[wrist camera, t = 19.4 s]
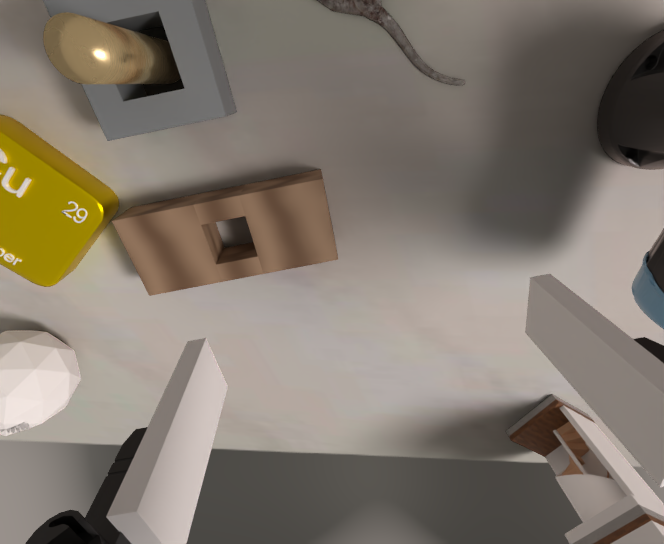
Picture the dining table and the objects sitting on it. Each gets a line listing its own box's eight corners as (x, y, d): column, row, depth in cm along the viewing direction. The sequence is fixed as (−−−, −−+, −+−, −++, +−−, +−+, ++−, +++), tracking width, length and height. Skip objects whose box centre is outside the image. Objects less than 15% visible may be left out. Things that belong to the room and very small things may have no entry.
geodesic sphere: (110, 359, 48) (-29, 411, 36) (99, 425, 54) (-25, 488, 42) (57, 299, 53) (-79, 328, 42) (52, 365, 59) (-70, 407, 47)
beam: (320, 169, 44) (322, 178, 39) (335, 243, 48) (338, 259, 44) (131, 207, 44) (111, 221, 40) (163, 276, 49) (149, 295, 45)
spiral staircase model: (552, 393, 65) (775, 679, 34) (587, 414, 68) (822, 691, 37) (505, 431, 69) (667, 715, 38) (541, 448, 72) (718, 724, 41)
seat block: (198, -22, 34) (178, -42, 29) (236, 111, 40) (226, 116, 35) (79, 4, 35) (38, -10, 30) (133, 133, 40) (107, 141, 35)
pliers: (479, 87, 40) (300, 67, 38) (476, 87, 41) (300, 68, 39) (507, -22, 35) (305, -51, 34) (503, -20, 36) (305, -48, 34)
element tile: (-53, 204, 43) (-92, 217, 39) (-1, 105, 39) (-39, 108, 34) (69, 277, 49) (46, 295, 44) (127, 198, 44) (108, 210, 40)
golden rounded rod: (175, 35, 36) (91, 6, 22) (189, 79, 38) (120, 77, 24) (137, 44, 37) (30, 19, 22) (153, 87, 38) (64, 89, 24)
